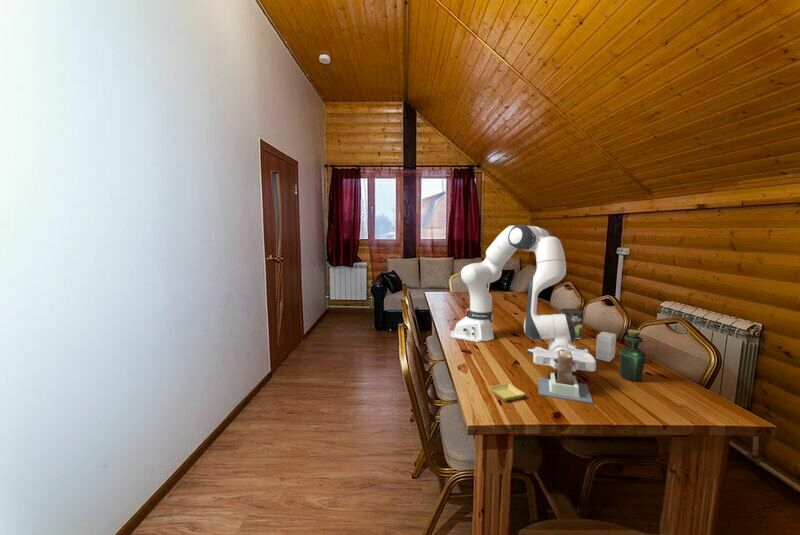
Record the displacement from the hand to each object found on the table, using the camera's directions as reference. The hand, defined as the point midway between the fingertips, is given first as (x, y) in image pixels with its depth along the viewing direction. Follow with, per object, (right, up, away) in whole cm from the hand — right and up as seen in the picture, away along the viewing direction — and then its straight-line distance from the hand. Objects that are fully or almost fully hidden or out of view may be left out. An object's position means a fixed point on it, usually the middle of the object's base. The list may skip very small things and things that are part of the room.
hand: (564, 368), depth 114 cm
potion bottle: (+30, -7, +11) cm, 33 cm away
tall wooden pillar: (0, -6, +2) cm, 7 cm away
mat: (0, -8, +2) cm, 8 cm away
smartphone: (+9, -5, +34) cm, 36 cm away
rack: (0, -8, +2) cm, 8 cm away
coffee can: (+33, -2, +61) cm, 70 cm away
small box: (+33, -5, +31) cm, 46 cm away
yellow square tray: (-20, -9, -2) cm, 22 cm away
